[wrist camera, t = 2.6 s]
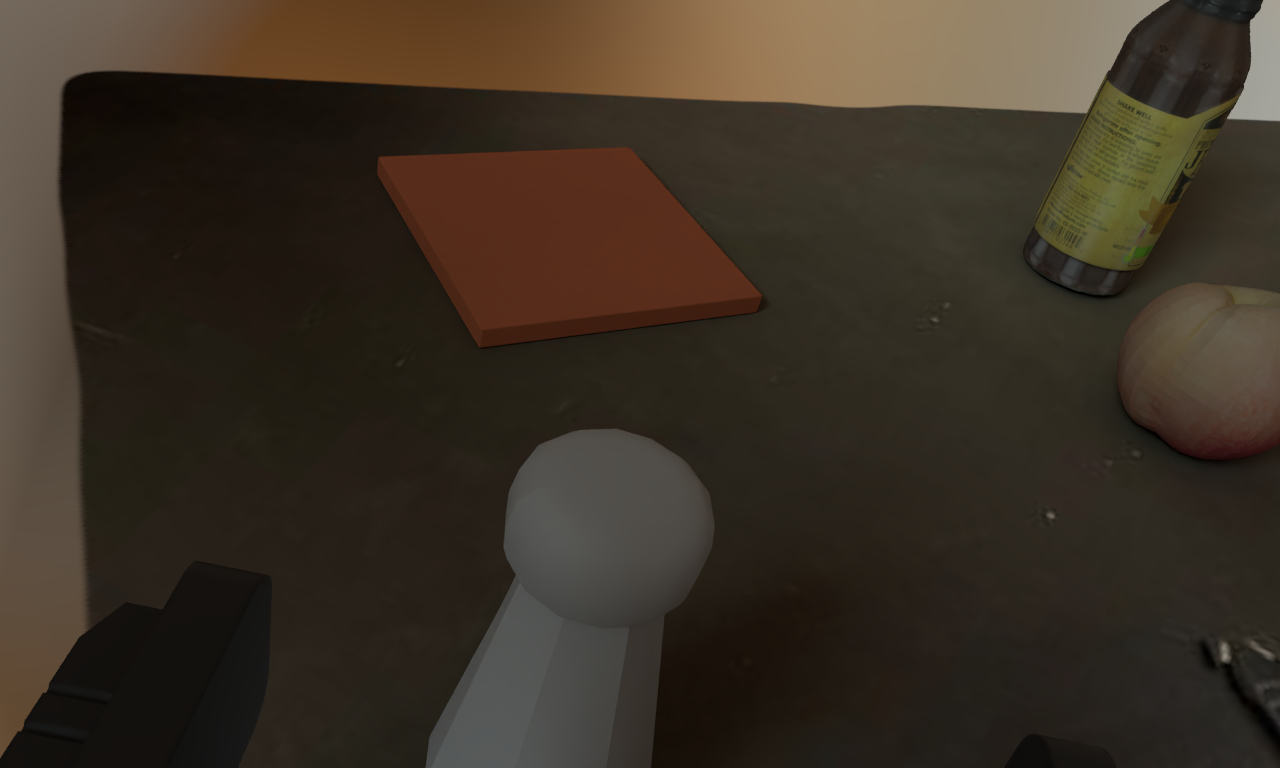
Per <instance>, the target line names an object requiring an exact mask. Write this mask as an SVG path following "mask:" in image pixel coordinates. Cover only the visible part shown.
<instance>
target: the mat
mask: <svg viewBox="0 0 1280 768" xmlns="http://www.w3.org/2000/svg"><path fill="white" fill-rule="evenodd" d="M377 175H378V176H379V178H380V180H381V182H382V183H383V185H384V187H385V188H386V190H387V192H388V194H389V195H390V197H391V199H392V200H393V202H394V204H395V205H396V207H397V209H398V211H399V212H400V214H401V216H402V217H403V219H404V221H405V223H406V224H407V226H408V228H409V229H410V231H411V233H412V234H413V236H414V238H415V240H416V241H417V243H418V245H419V246H420V248H421V250H422V251H423V253H424V255H425V257H426V258H427V260H428V262H429V263H430V265H431V267H432V269H433V270H434V272H435V274H436V275H437V277H438V279H439V280H440V282H441V284H442V286H443V287H444V289H445V291H446V292H447V294H448V296H449V298H450V299H451V301H452V303H453V304H454V306H455V308H456V309H457V311H458V313H459V315H460V316H461V318H462V320H463V321H464V323H465V325H466V327H467V328H468V330H469V332H470V333H471V335H472V337H473V338H474V340H475V342H476V344H477V345H478V347H479V348H483V347H491V346H498V345H506V344H514V343H522V342H529V341H537V340H545V339H553V338H560V337H568V336H576V335H584V334H591V333H599V332H607V331H615V330H623V329H630V328H638V327H646V326H654V325H661V324H669V323H677V322H685V321H692V320H700V319H708V318H716V317H723V316H731V315H739V314H747V313H755V312H757V310H758V307H759V304H760V301H761V298H762V295H761V294H760V293H759V291H758V290H757V289H756V288H755V287H754V286H753V285H752V284H751V282H750V281H749V280H748V279H747V278H746V277H745V276H744V275H743V274H742V272H741V271H740V270H739V269H738V268H737V267H736V266H735V265H734V263H733V262H732V261H731V260H730V259H729V258H728V257H727V256H726V255H725V253H724V252H723V251H722V250H721V249H720V248H719V247H718V246H717V244H716V243H715V242H714V241H713V240H712V239H711V238H710V237H709V236H708V234H707V233H706V232H705V231H704V230H703V229H702V228H701V227H700V225H699V224H698V223H697V222H696V221H695V220H694V219H693V218H692V217H691V215H690V214H689V213H688V212H687V211H686V210H685V209H684V208H683V206H682V205H681V204H680V203H679V202H678V201H677V200H676V199H675V198H674V196H673V195H672V194H671V193H670V192H669V191H668V190H667V189H666V187H665V186H664V185H663V184H662V183H661V182H660V181H659V180H658V179H657V177H656V176H655V175H654V174H653V173H652V172H651V171H650V170H649V168H648V167H647V166H646V165H645V164H644V163H643V162H642V161H641V160H640V158H639V157H638V156H637V155H636V154H635V153H634V152H633V151H632V149H631V148H630V147H620V148H594V149H568V150H543V151H517V152H491V153H465V154H439V155H413V156H387V157H379V158H378V169H377Z"/></svg>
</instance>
